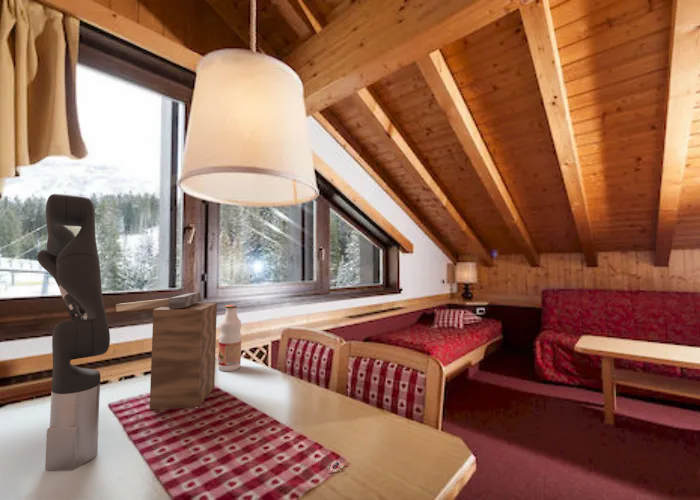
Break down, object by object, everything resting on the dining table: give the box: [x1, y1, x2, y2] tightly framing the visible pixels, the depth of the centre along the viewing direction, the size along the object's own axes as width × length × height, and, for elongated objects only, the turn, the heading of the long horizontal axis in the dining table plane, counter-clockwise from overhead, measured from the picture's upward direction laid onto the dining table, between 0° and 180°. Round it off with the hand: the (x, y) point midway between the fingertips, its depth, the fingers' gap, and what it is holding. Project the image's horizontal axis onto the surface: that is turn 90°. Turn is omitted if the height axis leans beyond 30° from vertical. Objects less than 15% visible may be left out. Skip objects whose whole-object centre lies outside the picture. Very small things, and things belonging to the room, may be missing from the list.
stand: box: [149, 302, 218, 410], centre depth 119 cm, size 18×15×32 cm
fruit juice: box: [217, 304, 242, 372], centre depth 152 cm, size 9×9×28 cm
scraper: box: [115, 291, 202, 312], centre depth 118 cm, size 16×25×4 cm, turn 96°
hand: (96, 333), depth 113 cm, fingers open, 8 cm apart
